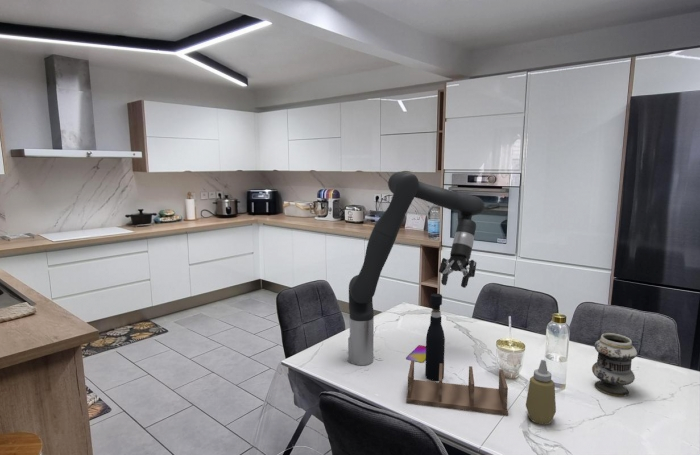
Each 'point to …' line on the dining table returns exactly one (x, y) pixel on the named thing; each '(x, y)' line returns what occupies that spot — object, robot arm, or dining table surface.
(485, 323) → the dining table surface
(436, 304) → the black bottle
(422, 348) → the smartphone
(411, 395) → the slot rack
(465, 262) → the robot arm
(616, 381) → the apothecary jar
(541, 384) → the squeeze bottle
